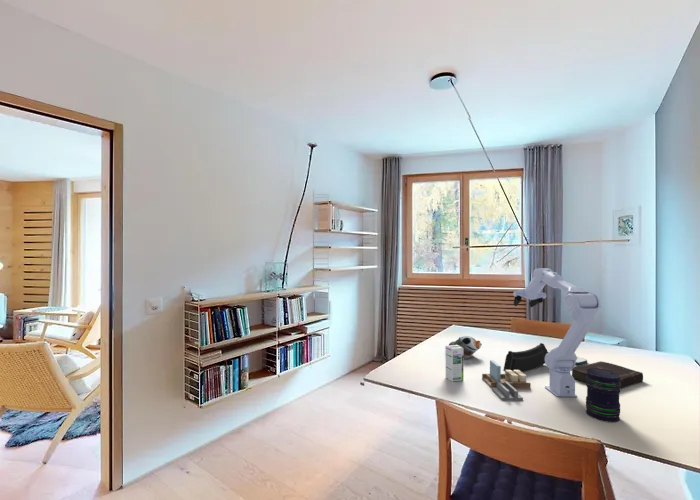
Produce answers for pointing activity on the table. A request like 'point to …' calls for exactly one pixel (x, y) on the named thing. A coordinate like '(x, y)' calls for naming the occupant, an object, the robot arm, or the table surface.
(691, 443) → the table surface
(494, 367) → the tall board
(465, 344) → the lucky cat figurine
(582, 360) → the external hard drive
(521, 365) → the magazine
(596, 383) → the storage jar
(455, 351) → the syrup box
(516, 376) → the offcut
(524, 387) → the rack
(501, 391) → the holder
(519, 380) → the offcut
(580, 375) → the diary
